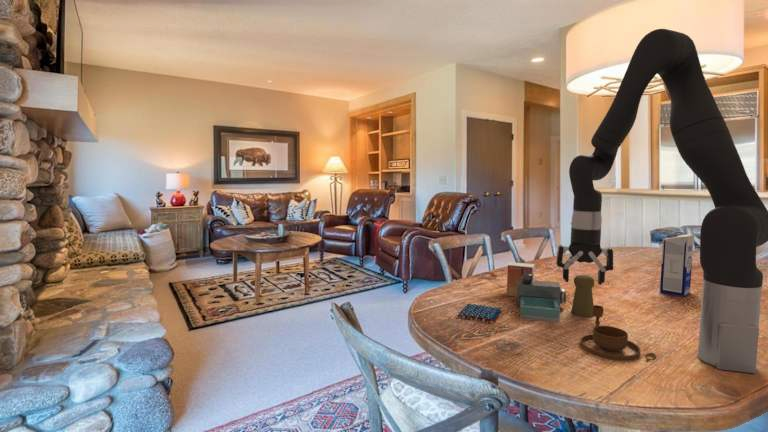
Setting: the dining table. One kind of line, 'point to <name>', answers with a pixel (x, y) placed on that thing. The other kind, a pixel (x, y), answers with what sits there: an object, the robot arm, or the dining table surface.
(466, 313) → the woven mat
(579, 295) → the cork
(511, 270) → the small box
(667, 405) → the dining table surface
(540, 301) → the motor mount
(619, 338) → the place setting
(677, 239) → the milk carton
